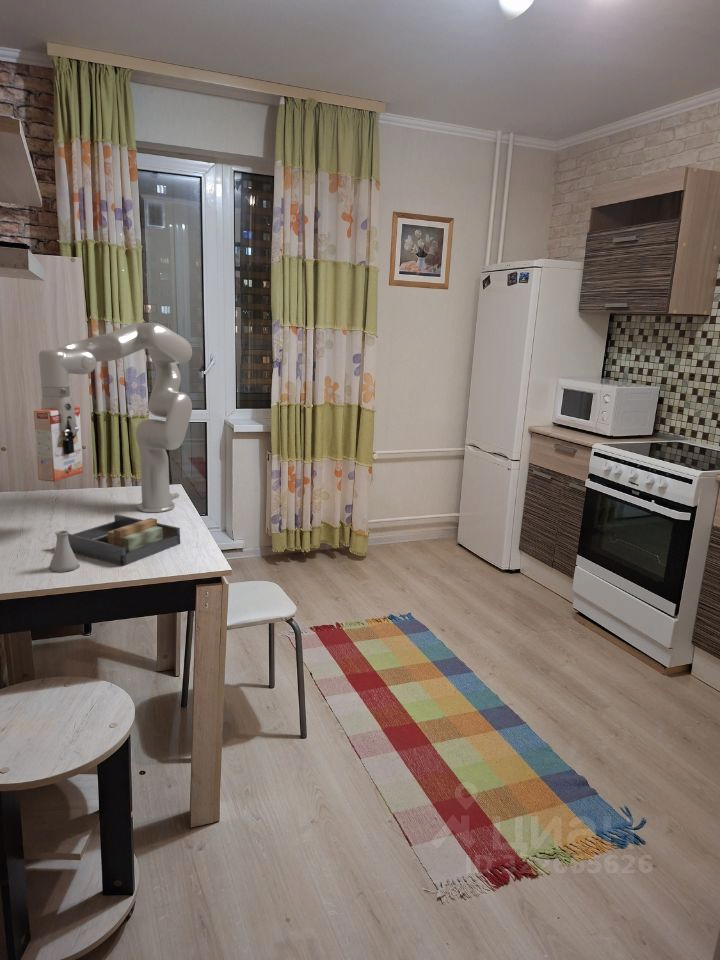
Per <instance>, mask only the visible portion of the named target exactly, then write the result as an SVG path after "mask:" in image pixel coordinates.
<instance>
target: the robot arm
mask: <svg viewBox="0 0 720 960" xmlns="http://www.w3.org/2000/svg"><path fill="white" fill-rule="evenodd" d="M146 349H147V352H148V355H149V357H150V359H151V361H152V362H153V365H154V368H155V379H154V383H153V386H152V390H151V393H150V396H149V401H148V407H147V408H148V411H149V413H150V414H151V415H153V416H155V417H158V418H159V417H160V418H164V419H165V420H158V419H154V418H153V419H152V418H150V419H149V418H148V419H144V420H142V421H141V422H139V424H137V427H135V428H136V429H135V440H136V442H137V447H138V452H139V454H138V455H139V464H140V467H139V469H140V470H139V471H140V487H141V490H140V491H141V502H140V503H139V504H137V510H138V511H140V512H144V513H162V512H168V511H171V510H173V509H174V508H175V504H176V503H174V502H173V500H175V499H178V498H179V496H180V494H179V493H178V492H175V493H171V492H170V467H169V463H170V462H169V455H168V453H167V450H168V451H169V450H170V451H174V450H176V449H178V448H180V447H181V446H182V445H183V442H184V440H185V437H186V433H187V432H188V431H187V430H188V427H189V423H190V421H191V420H190V419H191V416H192V412H193V404H192V403H193V402H192V400H191V398H190V396H189V395H188V394H186V393H185V392H183V391H180V386H181V382H182V377H181V371H180V369H179V367H178V365H181V364H182V365H183V364H186V363H188V362H189V361H190V360H191V359H192V355H193V349H192V345H191V344H190V342H189V341H188V340H187V339H186V338H185V337H182V336H181V335H179V334H178V333H176V332H174V331H173V330H171V329H170V328H168V327H166V326H165V325H164V324H163V325H162V324H161V323H158V322H135V323H132V324H129V325H127V326H124V327H122V328H119V329H117V330H113V331H111V332H110V331H109V332H108V333H105V334H99V335H96V336H93V337H89V338H85V339H81V340H78V341H74V342H70V343H69V344H68V343H67V344H65V345H63V346H61V347H58V348H57V349H42V350H40V352H39V353H38V363H39V373H40V376H39V378H40V387H41V389H40V390H41V402H40V404H41V405H40V409H55V410H59V416H60V426H61V431H62V432H63V437H64V440H65V441H63V448H64V454H70V453H74V442H73V440H74V439H75V436H76V433H77V432H78V430H79V428H78V427H77V425H76V416H75V410H74V406H75V405H74V401H73V399H72V397H71V395H70V394H71V391H70V390H71V389H70V378H69V376H70V375H71V374H72V375H84V376H85V375H89V374H91V373H93V372H94V370H95V369H96V366H97V363H98V362H110V361H111V362H112V361H116V360H121V359H123V358H125V357H128V356H130V355H132V354H134V353H137V352H139V351H142V350H146ZM66 428H68V430H66ZM66 433H69V434H68V435H67V434H66Z"/></svg>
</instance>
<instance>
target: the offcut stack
mask: <svg viewBox="0 0 720 960" xmlns="http://www.w3.org/2000/svg"><path fill="white" fill-rule="evenodd" d="M142 520H143V521H139V522H136V523H133V524H130V525H127V526H124V527H121V528H118V529H115V530H112V531H108V532H107V534H106V535H108V543H109V544H113V545H118V546H122V547H125V550H126V552H129V551H132V550H135V549H137V548H140V547H143V546H145V545H148V544H151V543H154V542H156V541H159V540H162V539H163V531H162V527H158V526H157V523H158V519H157V518H152V517H150V518H146V519H142Z"/></svg>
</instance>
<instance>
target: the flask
mask: <svg viewBox="0 0 720 960" xmlns="http://www.w3.org/2000/svg"><path fill="white" fill-rule="evenodd" d="M54 534H55V536H56V544H55V548H54V552H53V555H52V558H51V561H50V564H49V567H48V568H49V569H50V570H51V571H52V572H59V573H64V572H68V571H74V570H75V569H78V568H79V567H81V565H80V563H79V561H78V559H77V557H76V556H75V555H76V554H75V553H73V551H72V549H71V547H70V544H69V540H68V534H70V531H68V530H63V529H62V530H57V531H55V532H54Z"/></svg>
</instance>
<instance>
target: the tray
mask: <svg viewBox="0 0 720 960" xmlns="http://www.w3.org/2000/svg"><path fill="white" fill-rule="evenodd" d="M113 516H114V517H113V518H114V521H112V522H108V523H105V524H102V525H98V526H95V527H92V528H88V529H85V530H82V531H77V532H75V533H73V534H71V533H69V534H68V540H69V544H70V547H71V549H72V551H73V553H74V554H76V553H77V554H76V555H79V554H80V555H79V556H83V555H84V556H83V557H87V556H88V558H92V559H95V560H99V561H103V562H107V563H111V564H114V565H118V566H127V565H129V564H132V563H134V562H137V561H140V560H142V559H143V560H144V558H147V557H151V556H153V555H155V554H158V553H160V552H163V551H165V549H166V550H168V549H171V548H173V547H175V546H178V545H180V544H181V530H180V529H181V528H180V527H177V526H173V525H168V524H164V523H159V522H157V526H158V527H162V531H163V539H162V540H159V541H156V542H154V543H151V544H148V545H145V546H143V547H140V548H137V549H135V550H132V551H129V552H126V550H125V547H122V546H118V545H113V544H109V543H108V535H107V532H108V531H112V530H115V529H118V528H121V527H124V526H127V525H130V524H133V523H136V522H139V521H143V520H144V519H140V518H137V517H136V518H135V517H130V516H126V515H122V514H114V515H113ZM170 547H171V548H170Z"/></svg>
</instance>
